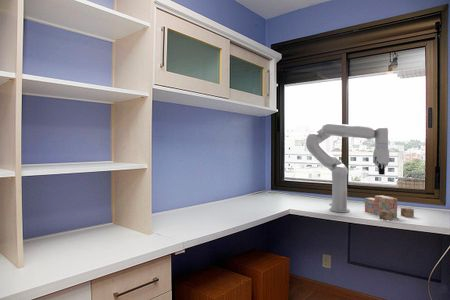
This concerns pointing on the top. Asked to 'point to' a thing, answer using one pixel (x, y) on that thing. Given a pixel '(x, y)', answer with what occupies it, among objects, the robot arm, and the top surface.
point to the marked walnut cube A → (386, 215)
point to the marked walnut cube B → (407, 212)
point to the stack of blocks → (381, 205)
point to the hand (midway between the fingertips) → (381, 174)
